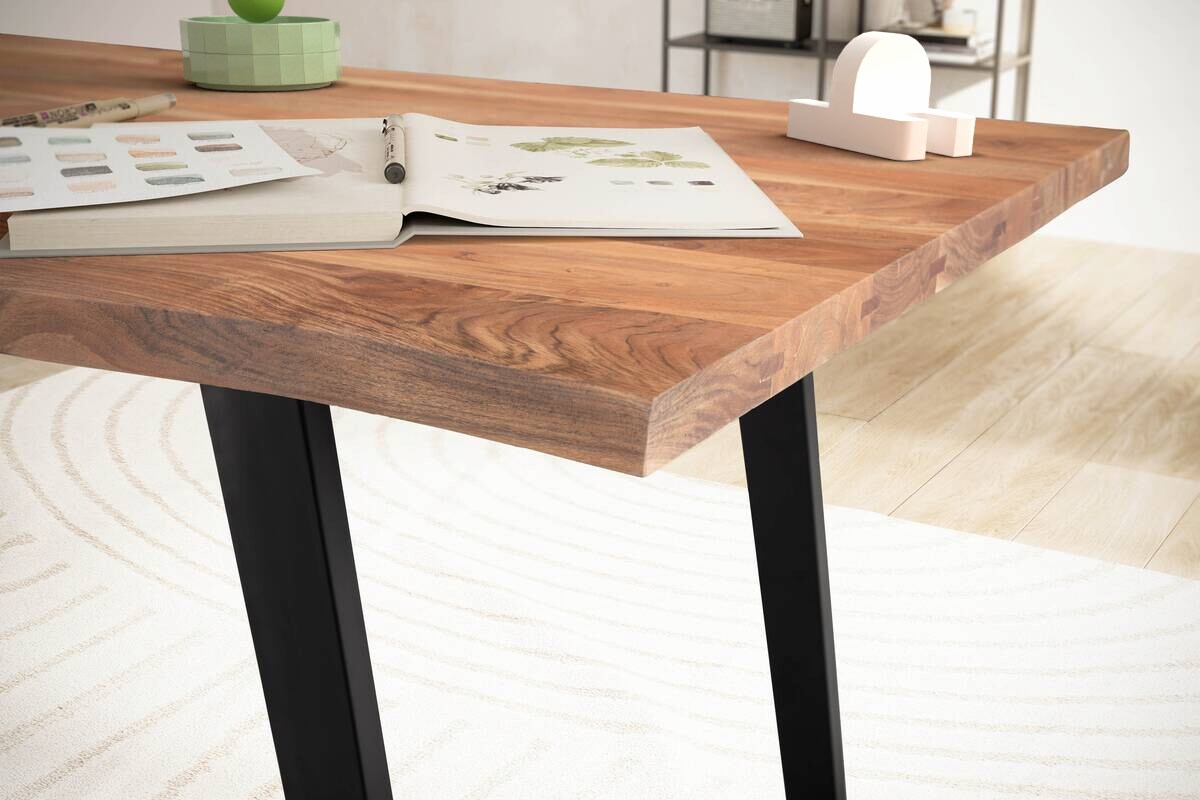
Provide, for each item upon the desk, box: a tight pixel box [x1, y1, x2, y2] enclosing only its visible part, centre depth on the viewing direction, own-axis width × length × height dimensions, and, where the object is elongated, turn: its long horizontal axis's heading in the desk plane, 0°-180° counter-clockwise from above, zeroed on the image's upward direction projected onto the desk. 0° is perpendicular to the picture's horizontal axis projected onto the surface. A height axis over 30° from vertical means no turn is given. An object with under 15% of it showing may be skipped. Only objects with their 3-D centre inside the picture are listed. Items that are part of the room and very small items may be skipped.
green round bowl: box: [178, 14, 343, 92], centre depth 122 cm, size 15×15×6 cm
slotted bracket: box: [786, 30, 976, 161], centre depth 91 cm, size 13×7×8 cm, turn 29°
